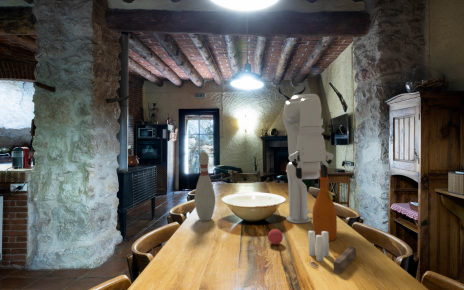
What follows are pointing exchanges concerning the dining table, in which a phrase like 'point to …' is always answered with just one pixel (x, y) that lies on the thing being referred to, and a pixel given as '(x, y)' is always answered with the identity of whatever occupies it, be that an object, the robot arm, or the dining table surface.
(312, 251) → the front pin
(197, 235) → the dining table surface
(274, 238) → the ball
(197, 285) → the dining table surface
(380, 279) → the dining table surface
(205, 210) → the bowling pin
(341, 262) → the brown wooden block
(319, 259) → the pin
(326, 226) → the wine bottle
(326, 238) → the pin
